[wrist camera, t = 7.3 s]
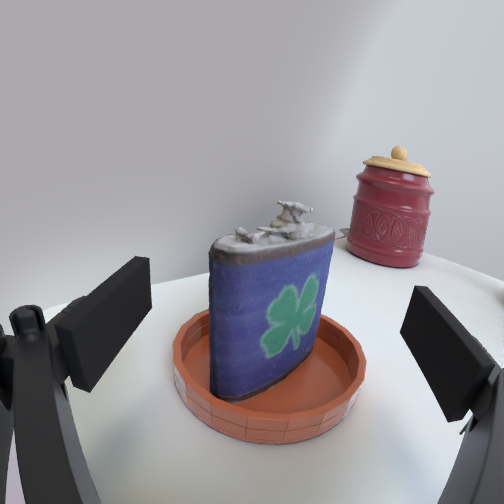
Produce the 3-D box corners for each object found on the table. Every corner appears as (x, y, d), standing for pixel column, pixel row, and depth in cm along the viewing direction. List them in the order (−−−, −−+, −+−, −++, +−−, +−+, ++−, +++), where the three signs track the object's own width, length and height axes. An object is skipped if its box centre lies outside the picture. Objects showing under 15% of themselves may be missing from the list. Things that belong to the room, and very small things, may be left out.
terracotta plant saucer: (149, 424, 13) (143, 398, 13) (198, 316, 25) (198, 292, 24) (372, 444, 13) (387, 420, 12) (340, 330, 24) (346, 308, 23)
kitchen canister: (376, 240, 54) (390, 149, 49) (432, 263, 44) (451, 159, 38) (329, 245, 48) (343, 136, 42) (391, 274, 37) (413, 143, 32)
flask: (294, 333, 23) (315, 193, 19) (325, 349, 21) (355, 202, 17) (198, 387, 16) (199, 201, 13) (232, 415, 14) (247, 214, 11)
